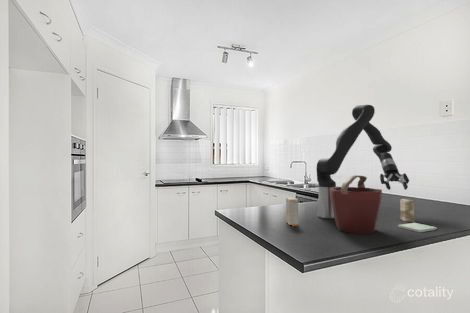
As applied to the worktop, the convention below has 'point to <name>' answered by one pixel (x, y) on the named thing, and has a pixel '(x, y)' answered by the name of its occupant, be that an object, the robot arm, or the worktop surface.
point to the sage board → (417, 227)
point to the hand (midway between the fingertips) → (397, 188)
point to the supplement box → (292, 211)
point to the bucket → (356, 206)
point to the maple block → (407, 210)
